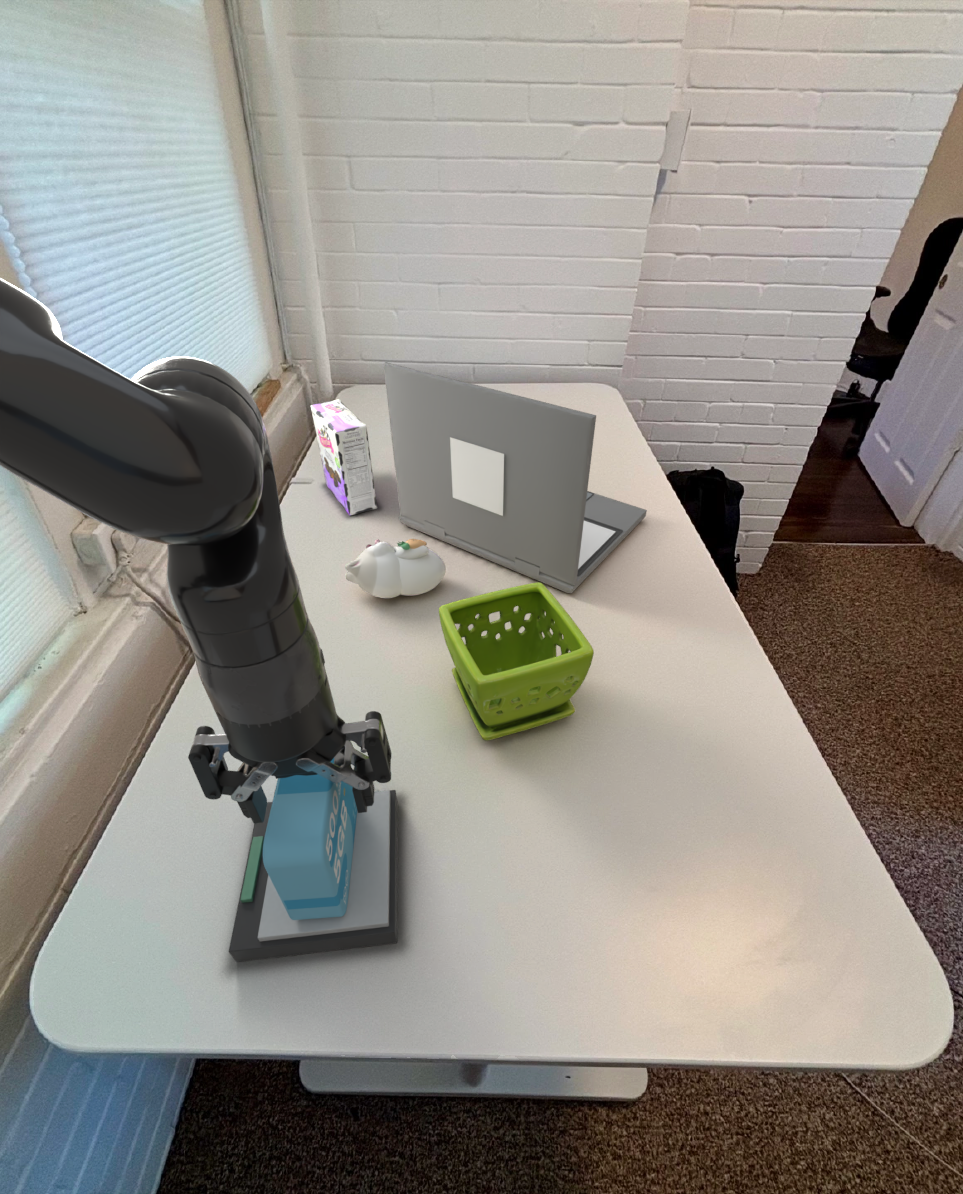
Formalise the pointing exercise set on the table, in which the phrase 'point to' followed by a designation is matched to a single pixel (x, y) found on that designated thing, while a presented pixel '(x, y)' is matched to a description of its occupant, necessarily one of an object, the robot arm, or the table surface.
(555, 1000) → the table surface
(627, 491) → the table surface
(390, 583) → the cat figurine
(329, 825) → the blue rounded block
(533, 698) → the flower pot
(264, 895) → the scale
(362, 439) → the candy box
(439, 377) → the laptop
